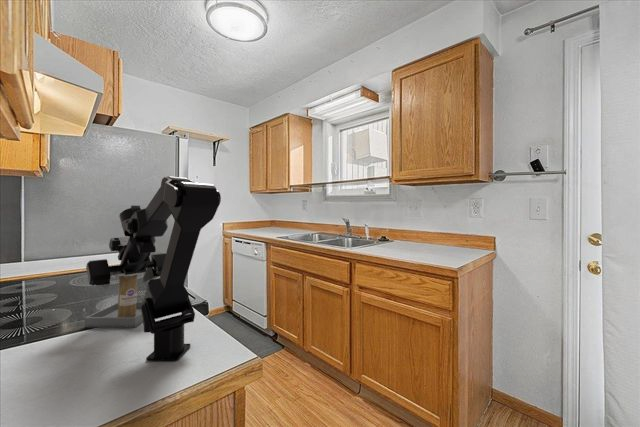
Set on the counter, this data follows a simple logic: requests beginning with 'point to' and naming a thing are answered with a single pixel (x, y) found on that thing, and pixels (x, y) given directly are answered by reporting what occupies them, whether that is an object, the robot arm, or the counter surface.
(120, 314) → the sprinkles bottle
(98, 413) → the counter surface
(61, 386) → the counter surface
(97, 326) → the tray
